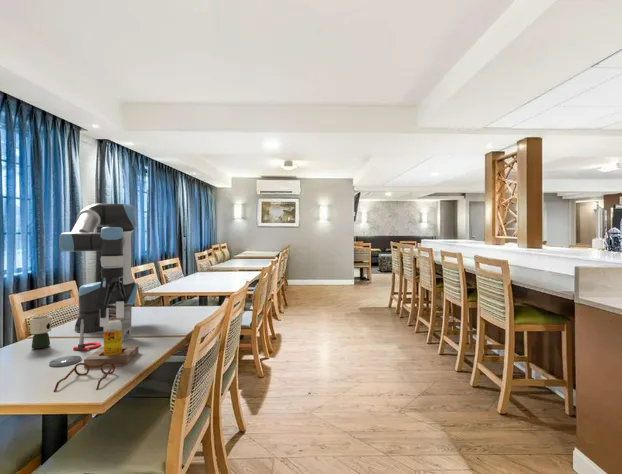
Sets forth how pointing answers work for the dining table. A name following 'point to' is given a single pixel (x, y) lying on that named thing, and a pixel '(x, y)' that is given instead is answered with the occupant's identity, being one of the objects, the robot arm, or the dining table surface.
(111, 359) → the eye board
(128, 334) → the coffee box
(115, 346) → the beer can
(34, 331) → the character mug
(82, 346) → the tow hook
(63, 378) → the glasses
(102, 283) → the robot arm
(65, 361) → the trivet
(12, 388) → the dining table surface
